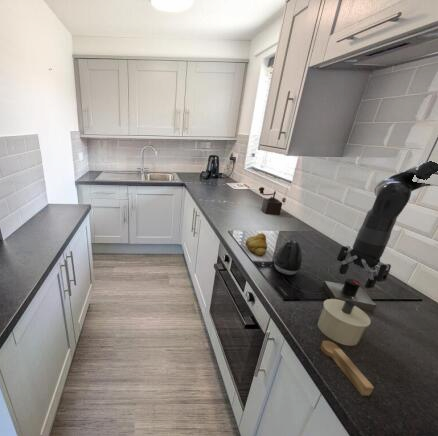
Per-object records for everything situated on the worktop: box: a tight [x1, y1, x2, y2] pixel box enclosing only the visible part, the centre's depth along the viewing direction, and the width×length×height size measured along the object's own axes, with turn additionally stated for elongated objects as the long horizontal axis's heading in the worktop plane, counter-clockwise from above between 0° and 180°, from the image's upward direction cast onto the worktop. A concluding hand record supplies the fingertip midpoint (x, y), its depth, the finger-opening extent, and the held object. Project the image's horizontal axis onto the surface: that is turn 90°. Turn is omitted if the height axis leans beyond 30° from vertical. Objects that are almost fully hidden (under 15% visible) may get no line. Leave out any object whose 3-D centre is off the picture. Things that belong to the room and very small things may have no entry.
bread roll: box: [245, 233, 268, 256], centre depth 116 cm, size 13×10×8 cm
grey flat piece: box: [321, 280, 377, 313], centre depth 85 cm, size 12×10×3 cm
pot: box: [316, 306, 367, 347], centre depth 70 cm, size 10×10×7 cm
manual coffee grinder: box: [258, 186, 283, 216], centre depth 172 cm, size 16×11×18 cm
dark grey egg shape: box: [273, 239, 303, 276], centre depth 98 cm, size 10×10×15 cm
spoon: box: [320, 340, 375, 397], centre depth 60 cm, size 14×4×3 cm, turn 0°
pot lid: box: [322, 298, 372, 328], centre depth 68 cm, size 11×11×4 cm
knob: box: [342, 278, 361, 296], centre depth 84 cm, size 4×4×5 cm
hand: (354, 280), depth 82 cm, fingers open, 8 cm apart
